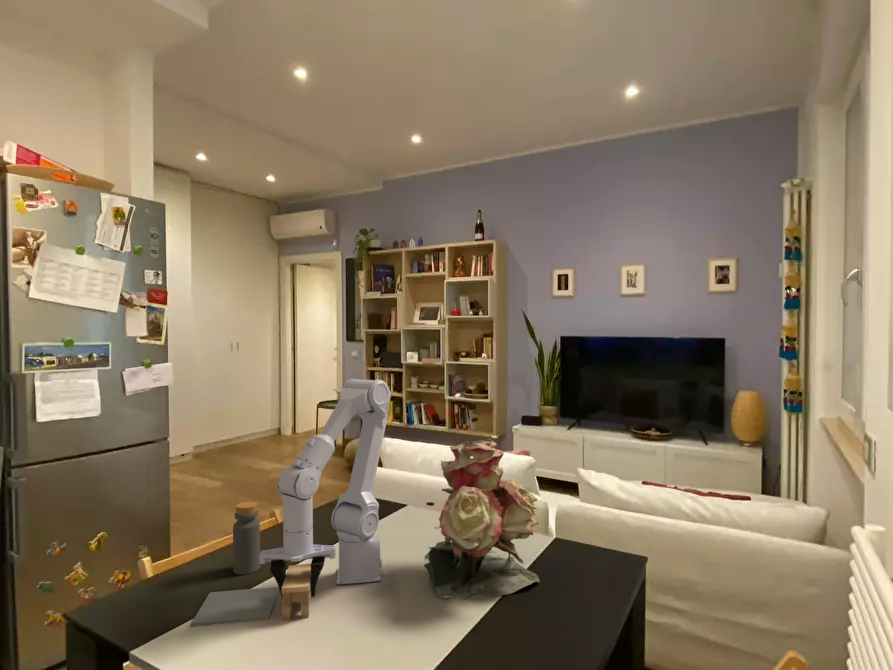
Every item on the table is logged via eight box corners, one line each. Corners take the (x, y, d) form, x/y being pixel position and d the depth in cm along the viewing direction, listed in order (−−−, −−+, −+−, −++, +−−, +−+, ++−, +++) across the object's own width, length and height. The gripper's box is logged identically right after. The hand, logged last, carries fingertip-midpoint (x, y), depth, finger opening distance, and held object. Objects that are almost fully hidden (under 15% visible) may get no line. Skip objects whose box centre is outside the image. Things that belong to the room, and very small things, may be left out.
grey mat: (279, 588, 109) (279, 586, 109) (269, 618, 97) (269, 616, 97) (209, 594, 107) (209, 592, 107) (190, 626, 95) (190, 623, 95)
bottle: (250, 575, 115) (250, 509, 115) (227, 573, 116) (227, 507, 116) (265, 564, 121) (264, 501, 121) (242, 562, 122) (242, 499, 122)
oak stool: (289, 594, 107) (289, 565, 107) (314, 592, 107) (313, 563, 107) (281, 620, 97) (281, 588, 97) (309, 617, 98) (308, 586, 98)
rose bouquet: (440, 613, 99) (439, 458, 99) (417, 551, 127) (416, 431, 128) (563, 597, 104) (561, 450, 105) (514, 542, 133) (513, 427, 133)
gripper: (256, 538, 97) (256, 609, 97) (334, 532, 99) (334, 602, 99) (263, 524, 104) (263, 591, 104) (335, 520, 106) (336, 585, 106)
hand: (298, 595), depth 102 cm, fingers closed on oak stool, 5 cm apart
